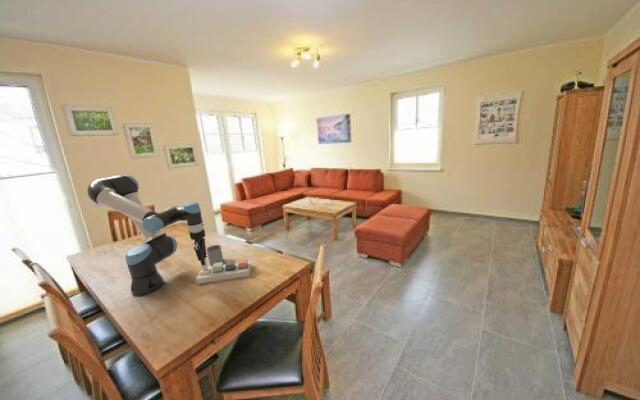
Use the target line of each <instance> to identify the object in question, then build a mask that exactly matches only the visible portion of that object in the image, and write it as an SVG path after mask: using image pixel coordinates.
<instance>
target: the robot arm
mask: <svg viewBox="0 0 640 400" xmlns="http://www.w3.org/2000/svg"><path fill="white" fill-rule="evenodd" d="M139 185H140V184H139V182H138V181H137V179H136V178H135V177H133V175H132V176H131V175H129V174H116V175H113V176H107V177H102V178H97V179H95V180H93V181H91V182H90V183H89V185H88V187H87V191H86V192H87V195H88V198H89V199H90V200H92V201H93V202H94V203H95V204H97V205H99V206H102V207H104V206H106V207H108V208H111V209H113V210H115V211H116V212H119V213H121V214H123V215H124V216H127V217H129V219H131V221H132V222H133V224H134V225H135V227H136V229H137V230H138V232H139V233H140V234H141V236H142V237H143V239H144V243H143V244H139V245H136V246H134V247H132V248H130V249H129V250H128V251H127V252H126V253H125V262H126V264H127V267H128V268H127V269H128V271H129V272H128V273H129V274H130V275H129V276H130V278H131V284H130V285H131V286H130V292H131V295H132V296H136V297H140V296H145V295H149V294H151V293H153V292H155V291H157V290H159V289H160V288H162V287H163V286H164V285H165V281H164V280H165V279H164V277H163V276H162V275H161V273H160V272H159V271H158V268H157V266H156V265H157V264H159V263H160V262H162V261H164V260H166V259H167V258H169V257H171V256H172V255H173V254H175V253H176V252H177V249H178V243H177V240H176V238H175V237H173V236H171V235H168V234H167V233H166V232H163V231H161V230H162V229H164V228H166V227H168V226H170V225H173V224H175V223H177V222H180V221H182V222H185V221H186V225H187V229H188V232H189V237H190V239H191V240H193V241H194V245H195V246H194V247H193V249H194V251H195V254H196V257H197V260H198V261H200V266H201V269H202V270H207V269H208V267H209V265H208V262H207V258H208V255H207V246H206V238H205V237H206V231H205V227H204V226H205V224H204V221H203V217H202V210H201V208H200V207H201V206H200V204H199V203H198V202H196V201H193V202H186V203H184V204H183V206H175V205H174V206H169V207H167V208H166V209H165V210H164V211H161V212H157V211H154V210H152V209H151V208H148V207H146V206H145V205H144V204H143V202H142V201H141V200H140V198H139V197H138V196H139V189H140V187H139Z"/></svg>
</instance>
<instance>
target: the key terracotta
mask: <svg viewBox="0 0 640 400" xmlns="http://www.w3.org/2000/svg"><path fill="white" fill-rule="evenodd" d="M248 261H249V260H248V258H242V259H241V258H240V259H238V262H237V263H238V267H239V269H245V268H247V264H248Z"/></svg>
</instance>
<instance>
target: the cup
mask: <svg viewBox="0 0 640 400" xmlns="http://www.w3.org/2000/svg"><path fill="white" fill-rule="evenodd" d="M206 256H207V260H208V264H209V265H210V266H213V264H214V263H220V262H223V263H224V257H223V251H222V246H221V245H218V244H214V245H211V246H208V247H206Z"/></svg>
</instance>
